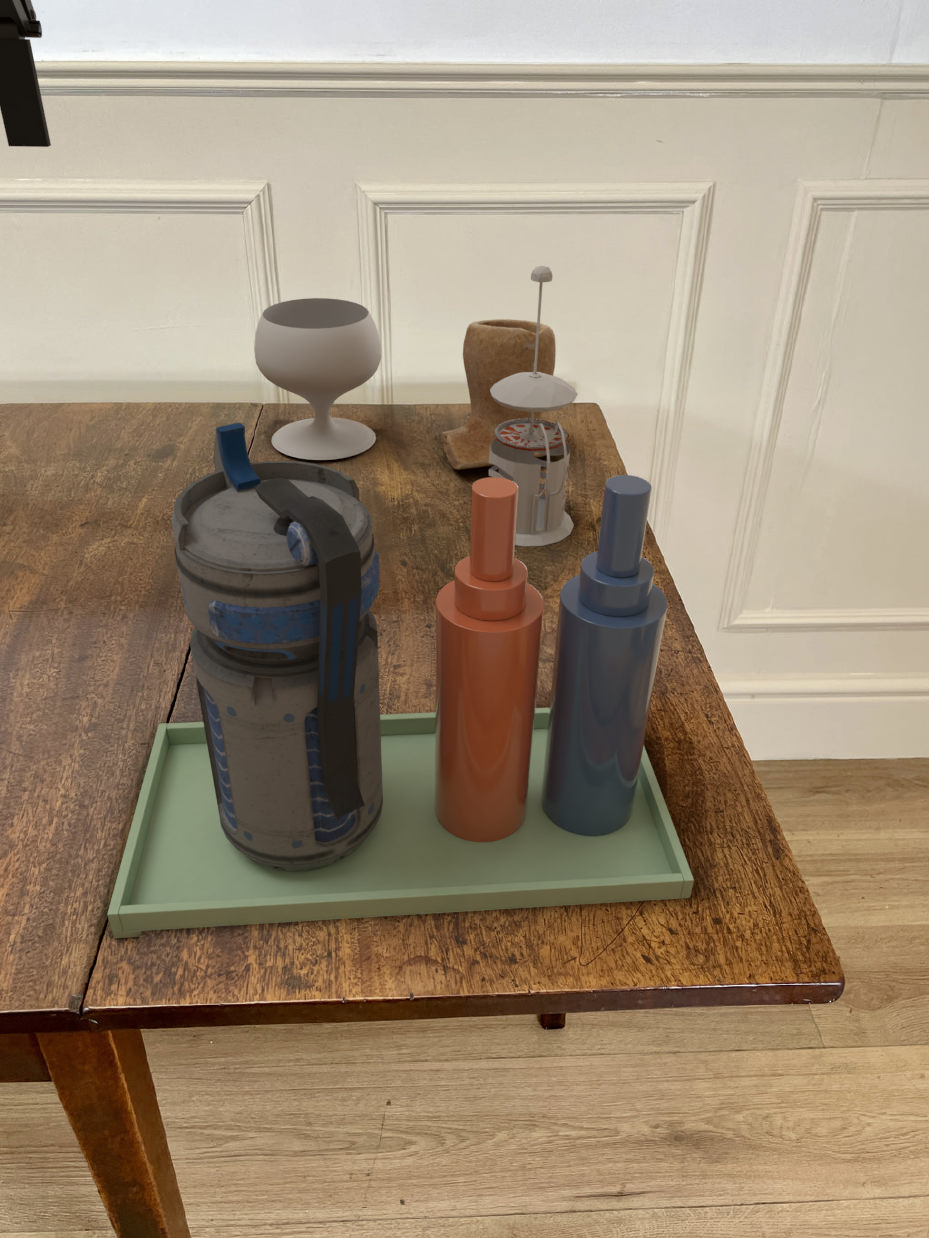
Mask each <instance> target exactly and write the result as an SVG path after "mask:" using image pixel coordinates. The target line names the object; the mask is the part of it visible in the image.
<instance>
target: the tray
mask: <svg viewBox="0 0 929 1238" xmlns="http://www.w3.org/2000/svg"><path fill="white" fill-rule="evenodd" d="M548 717H549V707H535V718H534V730H533V742H532V754H531V766H530V778H529V790H528V801H527V813H526V818H525V820H524V822H523V824H522V825H521V827H520V828H519V829H518V830H517V831H516V832H514V833H513V834H511V835H510V836H508V837H506V838H504V839H501V840H497V841H493V842H472V841H467V840H464V839H461V838H458V837H456V836H454V835H452V834H451V833H449V832H448V831H447V830H446V829H444V828H443V827H442V825H441V824H440V823H439V821H438V819H437V817H436V814H435V711H434V712H412V713H411V712H409V713H386V714H380V727H381V757H382V787H383V807H382V812H381V816H380V818H379V820H378V822H377V824H376V826H375V828H374V829H373V830H372V832H371V833H370V834H369V836H368V837H367V838H366V839H365V841H364V842H363V843H362V844H361V845H360V846H359V847H358V848H357V849H356V850H355V851H353V852H352V853H351V854H350V855H348V856H346V857H345V858H343V859H340V857H339V858H337V861H336V862H335V863H332V864H330V865H327V866H325V867H321V868H316V869H312V870H304V871H284V870H282V869H281V868H280V867H277V869H272V868H268V867H265V866H262V865H260V864H258V863H256V862H253V861H252V860H251V859H249V858H248V857H246V856H245V855H244V854H242V853H241V852H240V851H238V850H237V849H236V848H235V847H234V846H233V845H232V844H231V843H230V841H229V840H228V839H227V838H226V836H225V834H224V832H223V830H222V828H221V823H220V817H219V811H218V805H217V799H216V793H215V787H214V781H213V776H212V770H211V764H210V758H209V752H208V746H207V740H206V734H205V729H204V723H203V721H193V722H192V721H191V722H189V721H188V722H170V723H168V722H165V723H164V722H163V723H158V726H157V729H156V732H155V736H154V740H153V744H152V748H151V751H150V756H149V758H148V762H147V765H146V768H145V769H146V770H145V773H144V776H143V781H142V785H141V788H140V791H139V796H138V799H137V803H136V807H135V810H134V814H133V818H132V822H131V825H130V828H129V832H128V835H127V836H128V837H127V840H126V844H125V847H124V851H123V855H122V859H121V862H120V865H119V870H118V873H117V877H116V880H115V884H114V887H113V892H112V896H111V899H110V902H109V906H108V910H107V913H106V915H107V919H108V923H109V925H110V929H111V933H112V936H113V939H128V938H129V939H130V938H141V935H142V932H143V931H144V932H146V931H147V932H148V931H160V930H161V931H163V930H164V931H165V930H178V929H194V928H195V929H196V928H213V927H225V926H226V927H228V926H230V927H231V926H243V925H247V926H248V925H259V924H260V925H263V924H277V923H291V922H292V923H293V922H294V923H295V922H311V921H327V920H330V921H331V920H343V919H360V918H361V919H363V918H376V917H379V918H380V917H394V916H395V917H396V916H411V915H427V914H444V913H459V912H477V911H478V912H479V911H493V910H510V909H528V908H541V907H542V908H543V907H544V908H545V907H559V906H576V905H577V906H578V905H579V906H580V905H593V904H594V905H595V904H608V903H609V904H610V903H625V902H626V903H627V902H644V901H645V902H646V901H658V900H678V899H690V898H691V894H692V892H693V891H692V890H693V887H694V883H695V879H694V876H693V873H692V870H691V868H690V865H689V862H688V860H687V857H686V854H685V851H684V849H683V847H682V843H681V841H680V839H679V836H678V833H677V830H676V828H675V825H674V823H673V820H672V818H671V817H672V816H671V813H670V812H669V808H668V806H667V804H666V801H665V799H664V795H663V793H662V790H661V787H660V785H659V782H658V779H657V777H656V775H655V771H654V769H653V766H652V764H651V761H650V758H649V756H648V753H647V750H646V747H645V745H644V746H643V752H642V758H641V763H640V769H639V775H638V781H637V787H636V793H635V798H634V804H633V810H632V814H631V817H630V819H629V821H628V822H627V823H626V824H625V825H624V826H623V827H622V828H620V829H619V830H617V831H615V832H613V833H610V834H607V835H602V836H583V835H577V834H574V833H571V832H568V831H566V830H564V829H562V828H560V827H559V826H557V825H556V824H555V823H553V822H552V821H551V820H550V819H549V818H548V816H547V815H546V814H545V812H544V810H543V807H542V804H541V791H542V781H543V770H544V759H545V749H546V738H547V728H548Z"/></svg>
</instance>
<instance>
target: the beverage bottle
mask: <svg viewBox="0 0 929 1238" xmlns="http://www.w3.org/2000/svg"><path fill="white" fill-rule="evenodd" d="M245 431H246V426H245V425H244V424H242V423H241V422H236V423H235V422H234V423H231V424H227V425H225V424H224V425H221V426H217V427H216V428H215V439H214V449H213V464H214V471H212V472H210V473H208V474H206V475H203V476H201V477H199V478H197V479H196V480H194V481H193V482H191V483H189V484H188V485H187V486H186V487H185V488H184V489H182V490H181V491H180V493H179V494H178V496H177V497H176V499H175V501H174V506H173V509H172V513H171V514H172V515H171V519H170V524H171V529H172V535H173V540H174V556H175V562H176V568H177V574H178V579H179V586H180V591H181V598H182V603H183V610H184V614H185V615H186V617H187V619H188V621H189V623H190V624H191V625H193V626H194V629H192V630H191V633H190V638H189V646H190V653H191V658H192V664H193V670H194V675H195V681H196V687H197V692H198V693H197V694H198V699H199V704H200V709H201V710H200V711H201V717H202V722H203V723H204V729H205V734H206V740H207V746H208V752H209V758H210V764H211V770H212V776H213V781H214V787H215V793H216V799H217V805H218V811H219V817H220V823H221V828H222V830H223V832H224V834H225V836H226V838H227V839H228V840H229V841H230V843H231V844H232V845H233V846H234V847H235V848H236V849H237V850H238V851H240V852H241V853H242V854H244V855H245V856H246V857H248V858H249V859H251V860H252V861H253V862H256V863H258V864H260V865H262V866H265V867H268V868H272V869H277V867H280V868H281V869H282V870H284V871H304V870H312V869H316V868H321V867H325V866H327V865H330V864H332V863H335V862H336V861H337V858H339V857H340V859H343V858H345V857H346V856H348V855H350V854H351V853H352V852H353V851H355V850H356V849H357V848H358V847H359V846H360V845H361V844H362V843H363V842H364V841H365V839H366V838H367V837H368V836H369V834H370V833H371V832H372V830H373V829H374V828H375V826H376V824H377V822H378V820H379V818H380V816H381V812H382V807H383V787H382V757H381V727H380V715H381V698H380V671H379V641H378V639H379V638H378V637H379V636H378V622H377V619H376V618H375V615H374V613H373V612H372V610H371V608H372V607H373V605H374V604H375V603H374V602H375V601H376V600H377V597H378V595H379V591H380V589H381V574H380V573H381V572H380V554H379V552H377V551H376V550H375V539H374V538H375V537H374V533H373V522H372V521H373V520H372V515H371V513H370V511H369V509H368V507H367V505H365V504H364V503H363V502H362V501H361V500H360V489H359V487H358V485H357V483H356V481H355V479H353V478H352V477H351V476H349V475H347V474H346V473H344V472H342V471H340V470H337V469H335V468H332V467H329V466H326V465H321V464H317V463H312V462H306V461H296V460H264V461H255V462H251V460H250V457H249V454H248V448H247V442H246V432H245Z"/></svg>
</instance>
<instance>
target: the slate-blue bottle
mask: <svg viewBox="0 0 929 1238" xmlns="http://www.w3.org/2000/svg"><path fill="white" fill-rule="evenodd" d="M652 487H653V486H652V484H651V482H649V481H648V480H647V479H646V478H643V477H640V476H637V475H629V474H619V475H614V476H611V477H609V478H607V480H606V481H605V483H604V492H603V500H602V507H601V508H602V509H601V516H600V517H601V518H600V524H599V525H600V527H599V533H598V541H597V542H598V543H597V551H593V552H591V553H589V554H587V555H586V556H585V557H584V558H583V559H582V561H581V564H580V571H579V572H580V573H579V574H577V575H575V576H572V577H571V578H569V579H568V580H567V581H565V583H564V584H563V585H562V587H561V589H560V592H559V601H558V612H557V624H556V635H555V644H554V655H553V665H552V675H551V676H552V677H551V687H550V697H549V707H548V708H549V717H548V728H547V738H546V749H545V759H544V770H543V781H542V791H541V804H542V807H543V810H544V812H545V814H546V815H547V816H548V818H549V819H550V820H551V821H552V822H553V823H555V824H556V825H557V826H559V827H560V828H562V829H564V830H566V831H568V832H571V833H574V834H577V835H583V836H602V835H607V834H610V833H613V832H615V831H617V830H619V829H620V828H622V827H623V826H624V825H625V824H626V823H627V822H628V821H629V819H630V817H631V814H632V810H633V804H634V798H635V793H636V787H637V781H638V775H639V769H640V763H641V758H642V752H643V746H644V747H645V739H646V733H647V727H648V723H649V716H650V712H651V711H650V710H651V705H652V699H653V692H654V687H655V682H656V676H657V669H658V664H659V658H660V652H661V647H662V640H663V635H664V628H665V623H666V618H667V611H668V599H667V597H666V595H665V593H664V592H663V590H662V589H661V588H660V587H658V585H656V584H655V583H654V577H655V569H654V566H653V564H652V563H651V562H650V560H648V559H647V558H645V557H643V549H644V543H645V537H646V529H647V523H648V516H649V509H650V502H651V496H652Z"/></svg>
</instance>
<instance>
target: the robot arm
mask: <svg viewBox="0 0 929 1238" xmlns="http://www.w3.org/2000/svg"><path fill="white" fill-rule="evenodd" d="M42 37H43V28H42V23H41V20H38V19H37V13H36V10H35V9H34V5H33V3H32V0H0V113H1V118H2V122H3V123H2V124H3V128H4V131H5V136H6V141H7V144H8V147H24V148H25V147H27V148H28V147H29V148H32V147H34V148H36V147H37V148H48V147H51V145H52V143H51V138H50V133H49V128H48V123H47V118H46V114H45V109H44V108H45V107H44V103H43V99H42V94H41V89H40V83H39V78H38V74H37V69H36V63H35V58H34V54H33V48H32V44H31V39H32V38H33V39H41V38H42ZM29 38H30V39H29Z"/></svg>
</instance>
